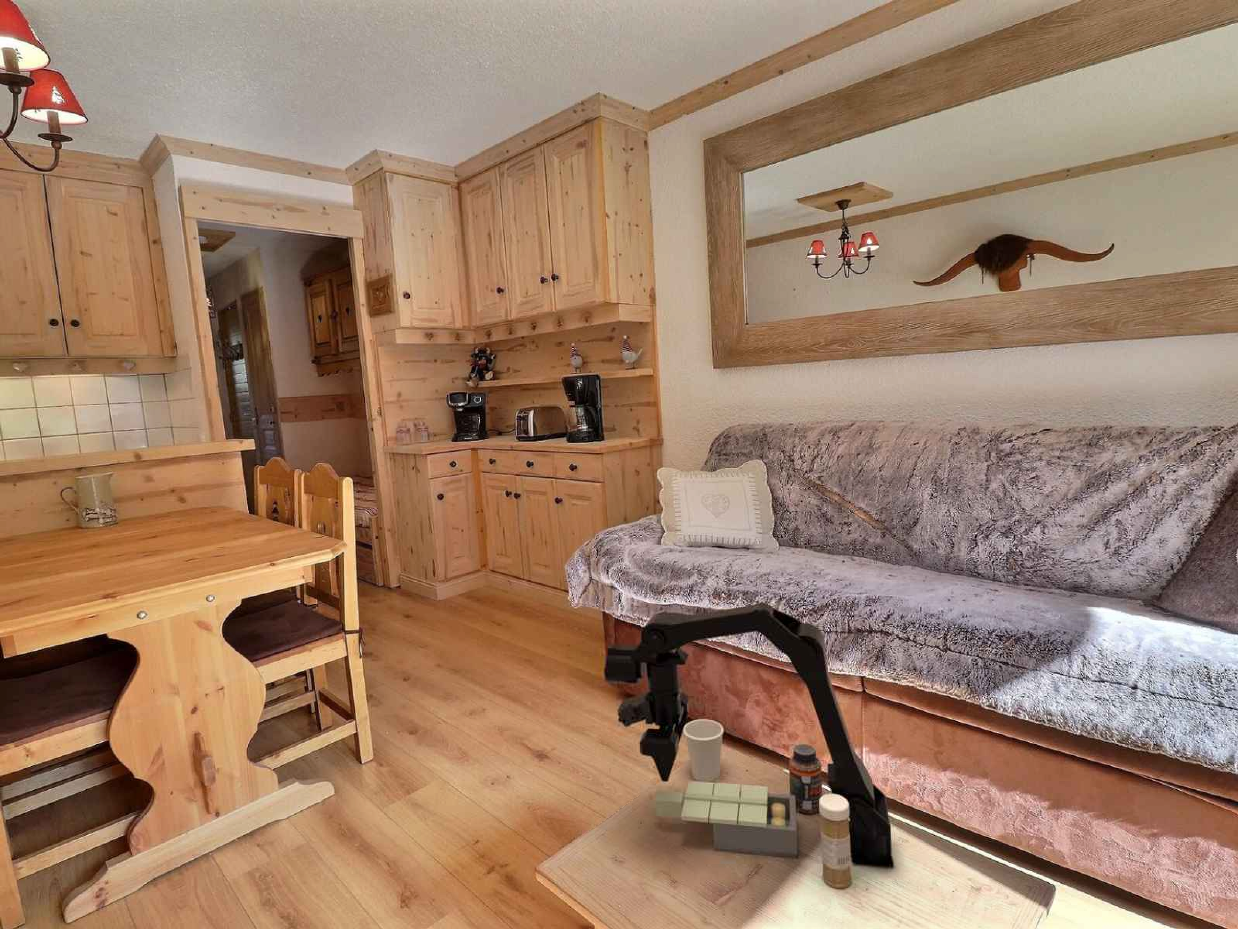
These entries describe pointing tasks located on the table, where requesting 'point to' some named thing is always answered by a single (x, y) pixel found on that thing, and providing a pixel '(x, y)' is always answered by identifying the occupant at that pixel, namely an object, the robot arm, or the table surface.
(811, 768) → the supplement bottle
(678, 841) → the table surface
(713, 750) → the dixie cup
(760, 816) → the lid
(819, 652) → the robot arm
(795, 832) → the tub
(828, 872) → the sprinkles bottle
